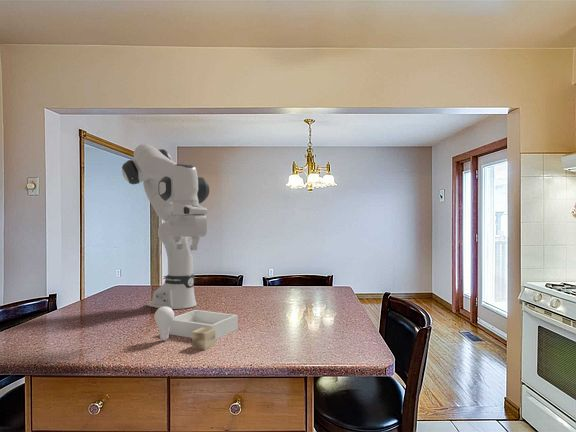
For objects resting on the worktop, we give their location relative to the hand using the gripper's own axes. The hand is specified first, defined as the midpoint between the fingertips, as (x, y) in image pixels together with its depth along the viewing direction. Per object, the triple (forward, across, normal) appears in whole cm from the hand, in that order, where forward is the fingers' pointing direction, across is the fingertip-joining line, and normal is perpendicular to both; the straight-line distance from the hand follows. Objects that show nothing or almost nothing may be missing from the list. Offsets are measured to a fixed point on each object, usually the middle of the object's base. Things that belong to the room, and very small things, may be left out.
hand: (186, 249), depth 132 cm
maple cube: (+29, +16, -4) cm, 34 cm away
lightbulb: (+29, +2, -10) cm, 31 cm away
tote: (+29, +3, +4) cm, 29 cm away
